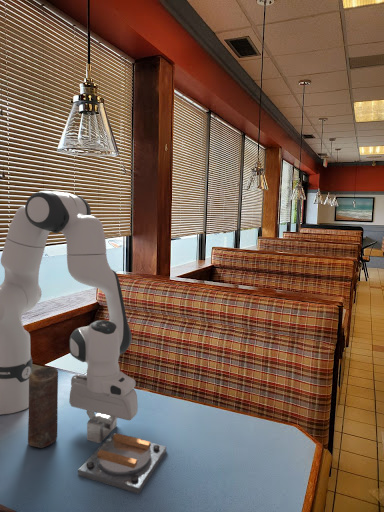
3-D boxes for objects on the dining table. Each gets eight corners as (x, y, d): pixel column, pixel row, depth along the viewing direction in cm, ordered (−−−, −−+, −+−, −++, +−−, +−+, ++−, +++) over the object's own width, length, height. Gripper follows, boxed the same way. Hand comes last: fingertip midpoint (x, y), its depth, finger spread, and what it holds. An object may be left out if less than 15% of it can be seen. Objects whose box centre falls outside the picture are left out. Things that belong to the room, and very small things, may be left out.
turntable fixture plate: (78, 475, 91) (78, 458, 90) (112, 437, 106) (113, 423, 105) (138, 493, 86) (138, 476, 85) (166, 451, 101) (166, 437, 100)
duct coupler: (86, 439, 104) (86, 422, 104) (104, 422, 113) (104, 406, 112) (100, 443, 103) (100, 425, 102) (117, 425, 111) (117, 409, 111)
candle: (63, 438, 105) (63, 369, 102) (45, 454, 98) (44, 380, 95) (41, 432, 107) (40, 364, 104) (21, 447, 100) (20, 374, 98)
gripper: (64, 377, 106) (64, 423, 108) (129, 391, 100) (128, 440, 101) (78, 368, 112) (78, 412, 114) (140, 381, 106) (139, 428, 107)
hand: (102, 426), depth 108 cm, fingers closed on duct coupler, 4 cm apart
